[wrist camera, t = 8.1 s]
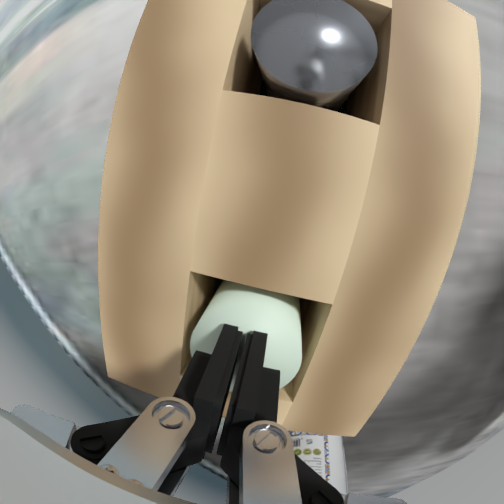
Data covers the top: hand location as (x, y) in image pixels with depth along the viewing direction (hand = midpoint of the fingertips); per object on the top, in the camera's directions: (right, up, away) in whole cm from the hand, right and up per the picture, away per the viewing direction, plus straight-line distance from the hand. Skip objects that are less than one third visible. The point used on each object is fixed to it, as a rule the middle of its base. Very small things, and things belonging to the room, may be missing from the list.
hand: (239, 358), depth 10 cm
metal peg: (+4, +14, +4) cm, 15 cm away
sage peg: (+1, +2, +8) cm, 8 cm away
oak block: (+2, +8, +6) cm, 11 cm away
